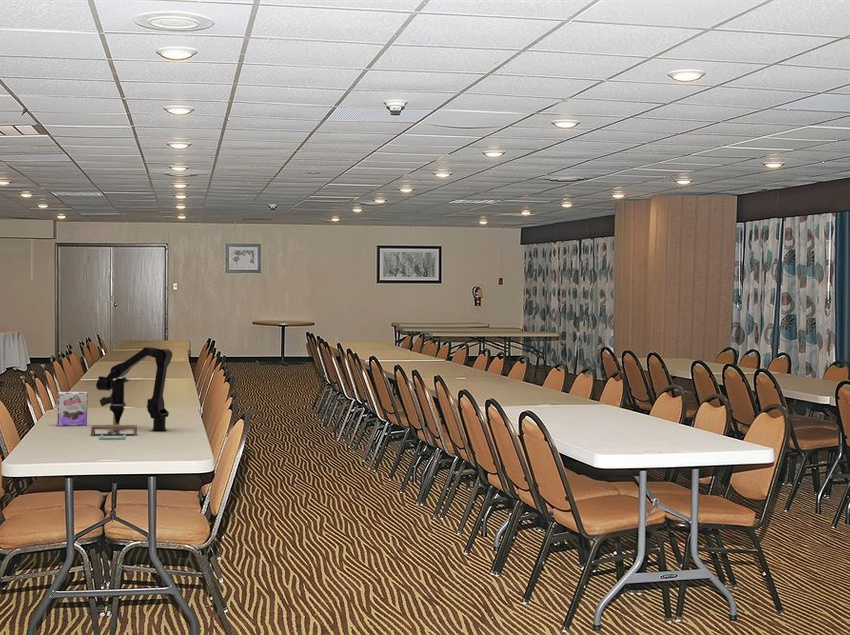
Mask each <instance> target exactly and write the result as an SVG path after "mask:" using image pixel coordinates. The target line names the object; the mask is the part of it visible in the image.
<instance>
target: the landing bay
mask: <svg viewBox="0 0 850 635" xmlns="http://www.w3.org/2000/svg"><path fill="white" fill-rule="evenodd" d="M126 437H127V434H123V436H122V437H104V434H100V436H99V438H98V440H99V441H101V440H103V441H107V440H109V441H113V440H114V441H116V440H117V441H118V440H119V441H121V440H123V441H124V440H125V439H126Z"/></svg>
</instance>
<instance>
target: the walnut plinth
mask: <svg viewBox="0 0 850 635" xmlns="http://www.w3.org/2000/svg"><path fill="white" fill-rule="evenodd" d="M109 429H121V430H133V436H137V434H138V425H137V424H120V425H113V424H92V425H91V426H90V437H93V436H95V434H96V430H109Z"/></svg>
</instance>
